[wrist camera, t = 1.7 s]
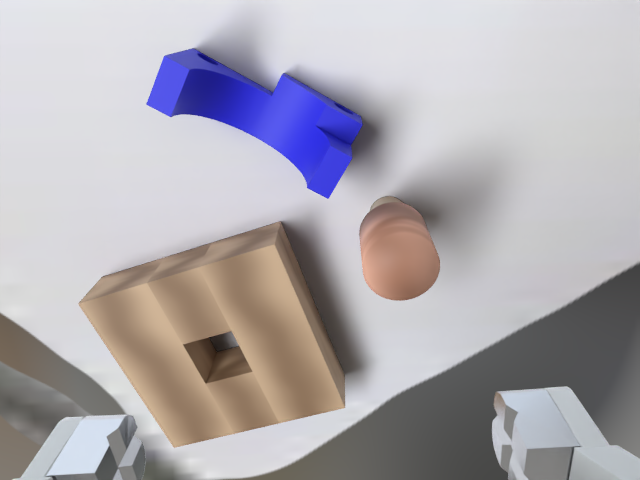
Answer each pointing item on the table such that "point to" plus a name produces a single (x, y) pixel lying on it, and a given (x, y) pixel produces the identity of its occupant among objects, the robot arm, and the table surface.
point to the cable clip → (262, 113)
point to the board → (213, 319)
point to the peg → (397, 251)
